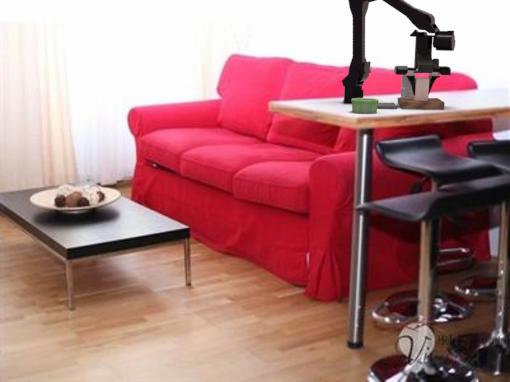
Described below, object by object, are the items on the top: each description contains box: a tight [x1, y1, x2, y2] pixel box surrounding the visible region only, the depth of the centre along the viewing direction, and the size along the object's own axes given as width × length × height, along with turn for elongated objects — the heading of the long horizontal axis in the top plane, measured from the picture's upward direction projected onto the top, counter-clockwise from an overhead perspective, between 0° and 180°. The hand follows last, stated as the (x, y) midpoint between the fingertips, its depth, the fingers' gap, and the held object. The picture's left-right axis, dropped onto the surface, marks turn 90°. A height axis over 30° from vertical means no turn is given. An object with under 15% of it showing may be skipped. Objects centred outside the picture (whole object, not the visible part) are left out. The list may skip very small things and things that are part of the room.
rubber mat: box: [377, 102, 398, 110], centre depth 267 cm, size 10×10×1 cm
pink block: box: [413, 77, 430, 101], centre depth 268 cm, size 4×4×10 cm
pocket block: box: [397, 96, 446, 111], centre depth 268 cm, size 14×14×2 cm
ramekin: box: [351, 97, 380, 115], centre depth 253 cm, size 9×9×4 cm
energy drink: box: [400, 66, 417, 98], centre depth 291 cm, size 5×5×12 cm
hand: (420, 95), depth 268 cm, fingers closed on pink block, 4 cm apart
